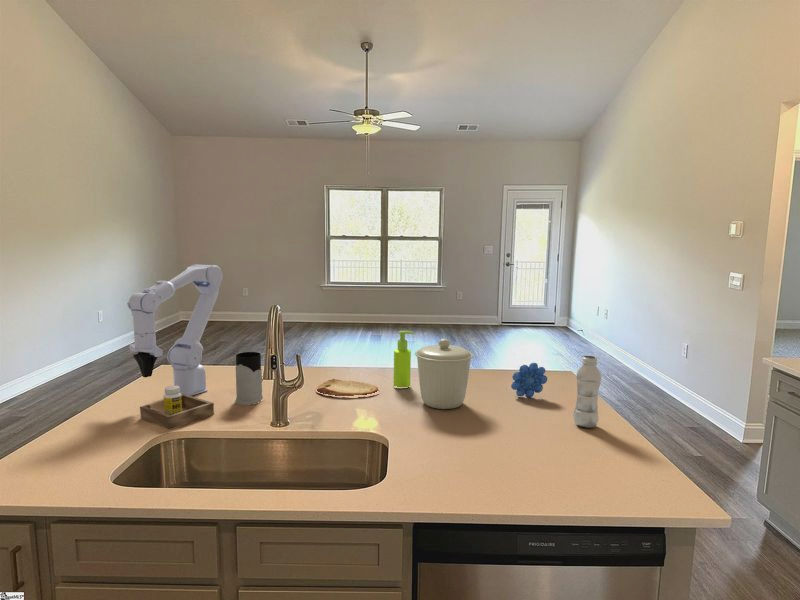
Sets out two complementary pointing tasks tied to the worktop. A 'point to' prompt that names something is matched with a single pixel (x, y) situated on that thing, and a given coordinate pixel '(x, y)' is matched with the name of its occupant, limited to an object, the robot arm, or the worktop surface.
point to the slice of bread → (346, 388)
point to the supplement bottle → (172, 400)
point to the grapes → (529, 380)
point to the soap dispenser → (402, 362)
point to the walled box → (171, 421)
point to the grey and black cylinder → (248, 378)
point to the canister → (443, 374)
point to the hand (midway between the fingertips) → (147, 376)
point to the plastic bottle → (587, 393)
